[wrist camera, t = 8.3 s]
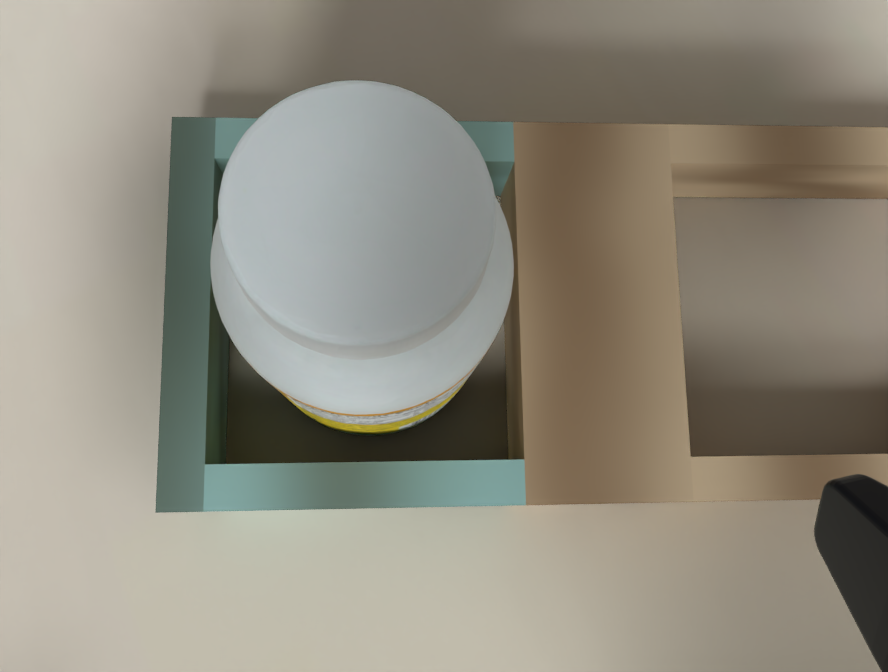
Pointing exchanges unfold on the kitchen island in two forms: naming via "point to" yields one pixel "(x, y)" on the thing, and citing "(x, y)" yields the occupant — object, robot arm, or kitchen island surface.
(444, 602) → the kitchen island surface
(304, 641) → the kitchen island surface
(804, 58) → the kitchen island surface
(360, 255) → the supplement bottle
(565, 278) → the rail
